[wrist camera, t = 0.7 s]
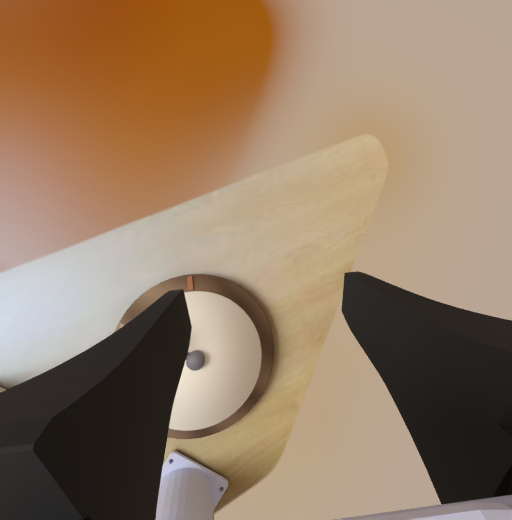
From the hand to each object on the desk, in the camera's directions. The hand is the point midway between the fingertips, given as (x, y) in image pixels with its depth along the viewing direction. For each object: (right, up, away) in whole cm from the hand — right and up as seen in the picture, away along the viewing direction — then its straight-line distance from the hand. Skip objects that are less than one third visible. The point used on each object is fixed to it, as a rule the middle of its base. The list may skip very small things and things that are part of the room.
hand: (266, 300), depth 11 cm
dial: (-7, -9, +18) cm, 21 cm away
